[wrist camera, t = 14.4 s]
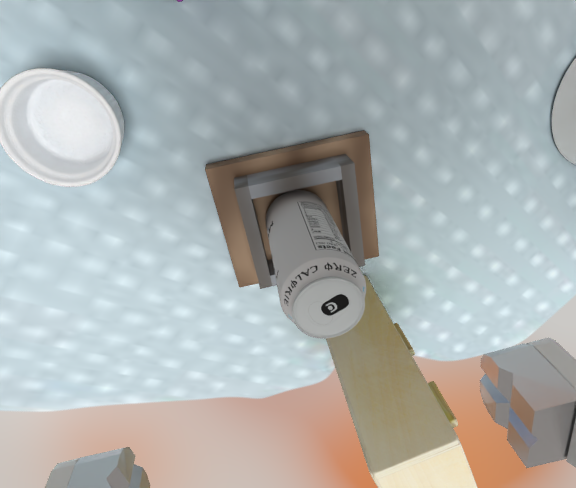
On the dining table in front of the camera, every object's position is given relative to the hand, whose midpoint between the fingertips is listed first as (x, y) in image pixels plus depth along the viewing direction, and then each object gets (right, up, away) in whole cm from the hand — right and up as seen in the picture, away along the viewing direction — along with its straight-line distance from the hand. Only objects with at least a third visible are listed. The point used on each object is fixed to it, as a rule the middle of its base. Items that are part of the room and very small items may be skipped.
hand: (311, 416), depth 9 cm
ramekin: (-18, +14, +26) cm, 35 cm away
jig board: (0, +7, +32) cm, 33 cm away
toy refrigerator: (+7, -4, +39) cm, 40 cm away
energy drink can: (0, +7, +31) cm, 31 cm away
